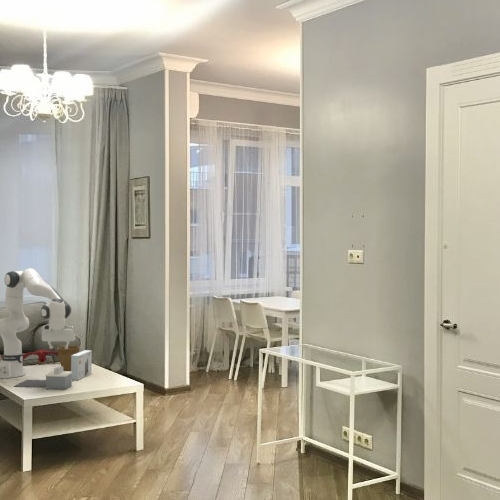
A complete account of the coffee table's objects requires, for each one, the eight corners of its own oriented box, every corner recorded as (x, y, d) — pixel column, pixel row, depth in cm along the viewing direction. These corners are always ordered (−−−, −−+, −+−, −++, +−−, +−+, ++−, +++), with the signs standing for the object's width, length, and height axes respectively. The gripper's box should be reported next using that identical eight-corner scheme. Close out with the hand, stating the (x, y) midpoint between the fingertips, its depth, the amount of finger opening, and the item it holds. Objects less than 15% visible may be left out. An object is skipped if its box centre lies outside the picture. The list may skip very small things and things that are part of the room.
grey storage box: (46, 389, 425) (46, 376, 424) (53, 385, 434) (52, 372, 434) (65, 389, 423) (65, 376, 423) (71, 386, 433) (71, 373, 433)
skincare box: (78, 380, 449) (78, 355, 449) (70, 380, 450) (70, 355, 450) (92, 373, 470) (92, 349, 469) (84, 373, 471) (84, 349, 470)
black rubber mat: (13, 386, 433) (13, 385, 433) (27, 380, 450) (27, 379, 450) (45, 387, 430) (44, 386, 430) (56, 381, 448) (56, 380, 448)
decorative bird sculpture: (21, 370, 504) (20, 357, 494) (22, 360, 510) (20, 347, 500) (62, 368, 511) (62, 355, 500) (62, 358, 517) (62, 345, 507)
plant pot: (82, 371, 477) (81, 348, 476) (60, 373, 470) (59, 349, 470) (77, 367, 490) (77, 344, 490) (55, 369, 483) (55, 346, 483)
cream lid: (45, 378, 424) (45, 369, 424) (52, 374, 435) (52, 365, 434) (65, 378, 422) (65, 369, 422) (72, 375, 433) (72, 366, 433)
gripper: (76, 325, 430) (77, 347, 430) (44, 325, 432) (45, 347, 433) (72, 326, 423) (73, 349, 424) (40, 326, 426) (40, 349, 426)
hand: (58, 348), depth 428 cm, fingers open, 8 cm apart
